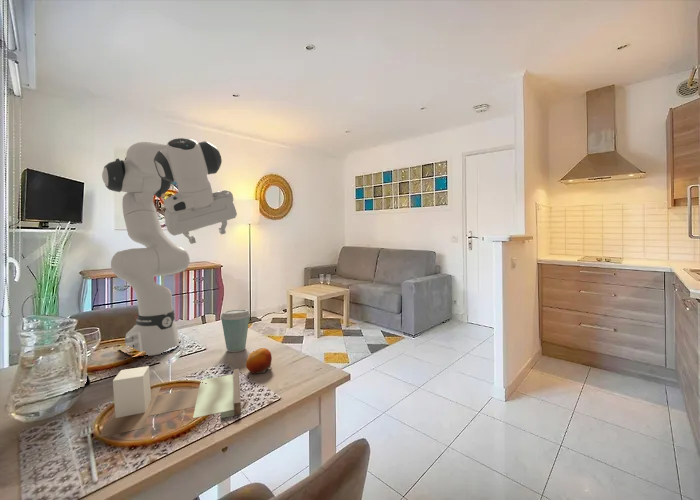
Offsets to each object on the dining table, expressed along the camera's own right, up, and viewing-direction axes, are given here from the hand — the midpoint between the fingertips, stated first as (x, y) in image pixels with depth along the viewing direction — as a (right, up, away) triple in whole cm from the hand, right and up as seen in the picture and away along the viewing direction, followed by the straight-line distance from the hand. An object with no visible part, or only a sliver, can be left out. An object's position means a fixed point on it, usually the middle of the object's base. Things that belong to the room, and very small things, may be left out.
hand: (208, 237), depth 101 cm
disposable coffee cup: (+3, -42, +19) cm, 46 cm away
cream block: (-8, -43, -23) cm, 49 cm away
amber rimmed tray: (+2, -44, -19) cm, 48 cm away
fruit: (+16, -43, 0) cm, 46 cm away
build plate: (-32, -45, -11) cm, 56 cm away
